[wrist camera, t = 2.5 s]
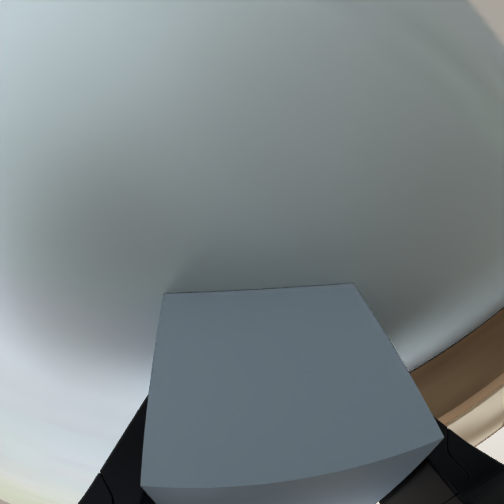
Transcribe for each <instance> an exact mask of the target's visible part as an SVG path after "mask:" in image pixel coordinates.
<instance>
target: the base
mask: <svg viewBox="0 0 504 504" xmlns="http://www.w3.org/2000/svg"><path fill="white" fill-rule="evenodd" d="M409 374H410V376H411V377H412V379H413V381H414V382H415V384H416V386H417V388H418V390H419V391H420V393H421V395H422V397H423V398H424V400H425V402H426V404H427V406H428V408H429V409H430V411H431V413H432V415H433V416H434V417H435V418H437V419H438V420H439V421H440V422H442V423H443V424H444V425H445V426H447V428H449V429H451V430H452V431H453V432H455V433H456V434H457V435H458V436H460V437H461V438H462V439H464V440H465V441H467V442H468V443H469V444H471V445H472V446H474V447H476V446H477V445H479V444H480V443H482V442H483V441H484V440H486V439H487V438H489V437H490V436H491V435H493V434H494V433H496V432H497V431H498V430H499V429H501V428H502V427H503V426H504V308H503V309H502V310H501V311H499V312H498V313H497V314H496V315H494V316H493V317H492V318H491V319H489V320H488V321H487V322H485V323H484V324H483V325H481V326H480V327H479V328H477V329H476V330H475V331H473V332H472V333H470V334H469V335H468V336H466V337H465V338H463V339H462V340H461V341H459V342H458V343H456V344H455V345H453V346H452V347H450V348H449V349H447V350H446V351H444V352H443V353H441V354H440V355H438V356H437V357H435V358H434V359H432V360H430V361H429V362H427V363H426V364H424V365H422V366H421V367H419V368H417V369H416V370H414V371H412V372H411V373H409Z"/></svg>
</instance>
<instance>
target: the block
mask: <svg viewBox="0 0 504 504" xmlns="http://www.w3.org/2000/svg"><path fill="white" fill-rule="evenodd" d="M443 438H444V436H443V434H442V432H441V430H440V428H439V426H438V424H437V422H436V420H435V419H434V417H433V415H432V413H431V411H430V409H429V408H428V406H427V404H426V402H425V400H424V398H423V397H422V395H421V393H420V391H419V390H418V388H417V386H416V384H415V382H414V381H413V379H412V377H411V376H410V374H409V372H408V370H407V369H406V367H405V365H404V364H403V362H402V360H401V358H400V357H399V355H398V353H397V352H396V350H395V348H394V347H393V345H392V343H391V342H390V340H389V338H388V337H387V335H386V334H385V332H384V330H383V329H382V327H381V325H380V324H379V322H378V321H377V319H376V317H375V316H374V314H373V313H372V311H371V310H370V308H369V306H368V305H367V303H366V302H365V300H364V299H363V297H362V295H361V294H360V292H359V291H358V289H357V288H356V286H355V285H354V283H347V284H334V285H321V286H307V287H292V288H276V289H259V290H240V291H219V292H196V293H167V294H164V297H163V302H162V308H161V314H160V320H159V326H158V332H157V338H156V345H155V351H154V358H153V365H152V372H151V380H150V387H149V395H148V404H147V413H146V422H145V432H144V443H143V455H142V468H141V484H140V486H141V487H142V488H143V489H144V491H145V492H146V493H147V494H148V495H149V496H150V497H151V498H152V500H153V501H154V502H155V503H156V504H376V503H377V502H379V501H380V500H381V499H382V498H383V497H384V496H386V495H387V494H388V493H389V492H390V491H391V490H393V489H394V488H395V487H396V486H397V485H398V484H399V483H400V482H401V481H402V480H403V479H405V478H406V477H407V476H408V475H409V474H410V473H411V472H412V471H413V470H414V469H415V468H416V467H417V466H418V465H419V464H420V463H421V462H422V461H423V460H424V459H425V458H426V457H427V456H428V455H429V454H430V453H431V451H432V450H433V449H434V448H435V447H436V446H437V445H438V444H439V443H440V442H441V440H442V439H443Z"/></svg>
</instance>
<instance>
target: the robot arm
mask: <svg viewBox="0 0 504 504" xmlns="http://www.w3.org/2000/svg"><path fill="white" fill-rule="evenodd" d="M148 395H149V394H148ZM148 395H147V397H146V399H145V400H144V402H143V403H142V405H141V406H140V408H139V410H138V411H137V413H136V414H135V416H134V417H133V419H132V421H131V422H130V424H129V425H128V427H127V429H126V430H125V432H124V433H123V435H122V436H121V438H120V440H119V441H118V443H117V444H116V446H115V448H114V449H113V451H112V452H111V454H110V456H109V457H108V459H107V460H106V462H105V464H104V465H103V467H102V468H101V470H100V473H98V475H97V476H96V478H95V479H94V481H93V483H92V484H91V486H90V487H89V489H88V490H87V492H86V493H85V495H84V496H83V497H82V499H81V500H80V501H79V502H78V504H156V503H155V502H154V501H153V500H152V498H151V497H150V496H149V495H148V494H147V493H146V492H145V491H144V489H143V488H142V487H141V486H140V484H141V468H142V455H143V443H144V432H145V422H146V413H147V404H148ZM433 417H434V416H433ZM434 419H435V420H436V422H437V424H438V426H439V428H440V430H441V432H442V434H443V436H444V438H443V439H442V440H441V442H440V443H439V444H438V445H437V446H436V447H435V448H434V449H433V450H432V451H431V453H430V454H429V455H428V456H427V457H426V458H425V459H424V460H423V461H422V462H421V463H420V464H419V465H418V466H417V467H416V468H415V469H414V470H413V471H412V472H411V473H410V474H409V475H408V476H407V477H406V478H405V479H403V480H402V481H401V482H400V483H399V484H398V485H397V486H396V487H395V488H394V489H393V490H391V491H390V492H389V493H388V494H387V495H386V496H384V497H383V498H382V499H381V500H380V501H379V503H380V504H504V464H502V463H500V462H498V461H497V460H495V459H493V458H492V457H490V456H488V455H487V454H485V453H483V452H482V451H480V450H478V449H477V448H475V447H474V446H472V445H471V444H469V443H468V442H467V441H465V440H464V439H462V438H461V437H460V436H458V435H457V434H456V433H455V432H453V431H452V430H451V429H449V428H447V426H445V425H444V424H443V423H442V422H440V421H439V420H438V419H437V418H435V417H434Z"/></svg>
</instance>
